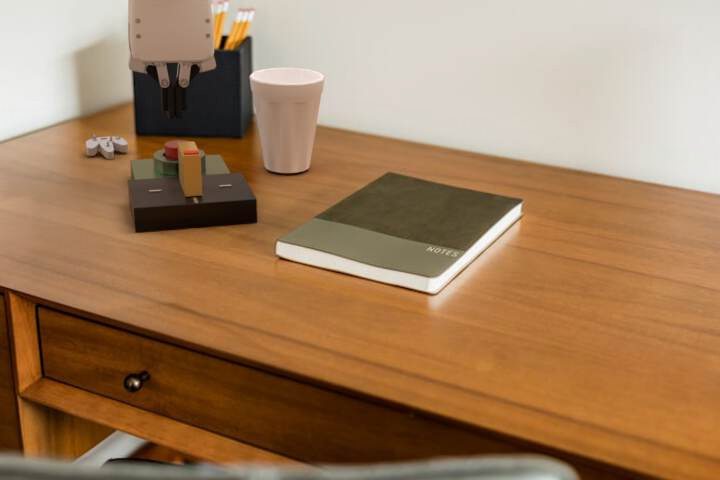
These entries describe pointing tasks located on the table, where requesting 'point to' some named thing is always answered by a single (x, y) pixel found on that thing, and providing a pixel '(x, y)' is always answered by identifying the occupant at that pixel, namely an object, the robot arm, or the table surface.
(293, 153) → the cup
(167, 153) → the button
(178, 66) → the robot arm
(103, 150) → the game controller
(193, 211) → the panel
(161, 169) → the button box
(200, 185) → the tan block
